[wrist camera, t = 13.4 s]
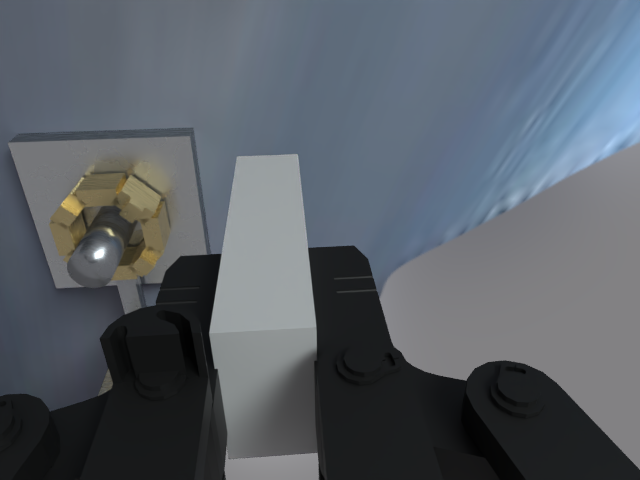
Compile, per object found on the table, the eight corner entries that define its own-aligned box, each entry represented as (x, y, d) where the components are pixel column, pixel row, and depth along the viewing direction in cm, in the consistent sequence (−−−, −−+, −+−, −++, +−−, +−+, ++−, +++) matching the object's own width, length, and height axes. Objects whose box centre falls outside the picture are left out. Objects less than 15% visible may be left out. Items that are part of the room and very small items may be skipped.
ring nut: (52, 176, 42) (-42, 282, 29) (158, 171, 42) (110, 273, 30) (114, 375, 53) (64, 514, 41) (196, 370, 54) (173, 505, 41)
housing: (63, 275, 50) (20, 348, 41) (18, 133, 42) (-47, 186, 34) (212, 268, 50) (200, 338, 42) (193, 127, 43) (173, 177, 35)
